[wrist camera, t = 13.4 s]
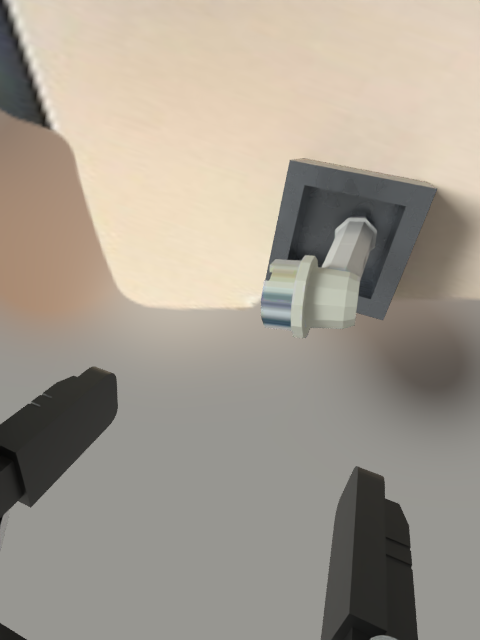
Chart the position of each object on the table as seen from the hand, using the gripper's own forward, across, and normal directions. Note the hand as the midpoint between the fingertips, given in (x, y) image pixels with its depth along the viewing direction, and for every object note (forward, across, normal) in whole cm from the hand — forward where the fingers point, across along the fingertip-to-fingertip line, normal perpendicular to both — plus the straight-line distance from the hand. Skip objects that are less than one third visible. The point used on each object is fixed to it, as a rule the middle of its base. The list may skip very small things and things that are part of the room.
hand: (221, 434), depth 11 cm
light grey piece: (+36, -1, +1) cm, 36 cm away
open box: (+38, -1, +1) cm, 38 cm away
